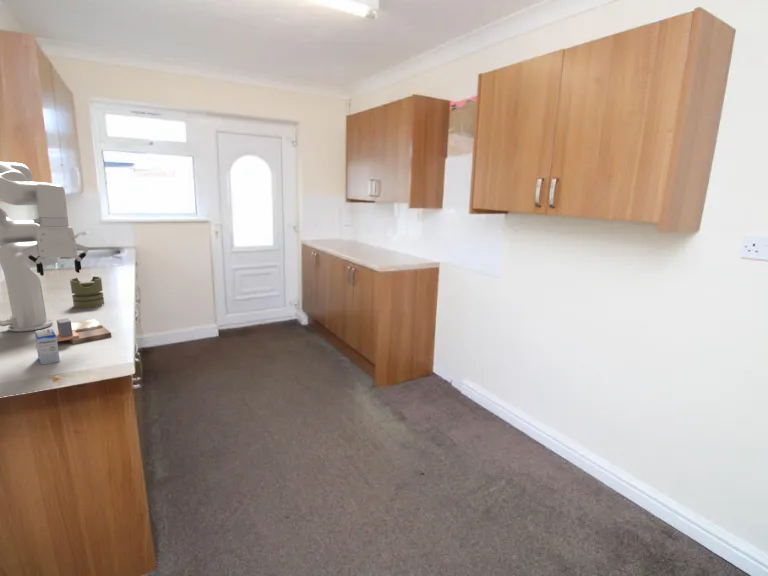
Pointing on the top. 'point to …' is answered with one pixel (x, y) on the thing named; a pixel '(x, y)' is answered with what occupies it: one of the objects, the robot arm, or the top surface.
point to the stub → (65, 330)
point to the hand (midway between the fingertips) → (60, 273)
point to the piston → (87, 293)
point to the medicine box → (47, 346)
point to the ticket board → (89, 331)
